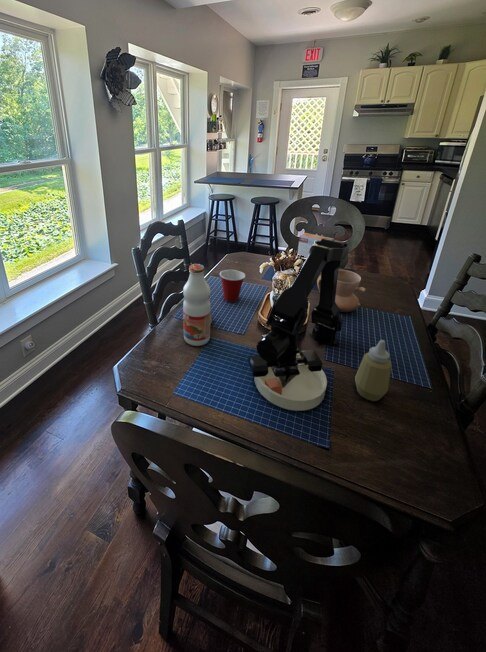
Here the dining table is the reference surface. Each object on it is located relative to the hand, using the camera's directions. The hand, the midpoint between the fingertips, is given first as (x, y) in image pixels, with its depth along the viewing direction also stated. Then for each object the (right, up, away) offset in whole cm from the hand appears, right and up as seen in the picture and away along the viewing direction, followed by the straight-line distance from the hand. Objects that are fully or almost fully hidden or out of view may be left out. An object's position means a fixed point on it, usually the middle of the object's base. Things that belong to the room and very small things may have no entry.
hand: (282, 386), depth 90 cm
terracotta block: (-3, -2, 0) cm, 3 cm away
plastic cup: (-8, +18, +48) cm, 52 cm away
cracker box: (+33, +26, +66) cm, 78 cm away
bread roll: (-22, +11, +33) cm, 41 cm away
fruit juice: (-23, +7, +24) cm, 34 cm away
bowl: (+3, -1, +3) cm, 4 cm away
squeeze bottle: (+24, -2, 0) cm, 24 cm away
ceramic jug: (+35, +16, +42) cm, 56 cm away
